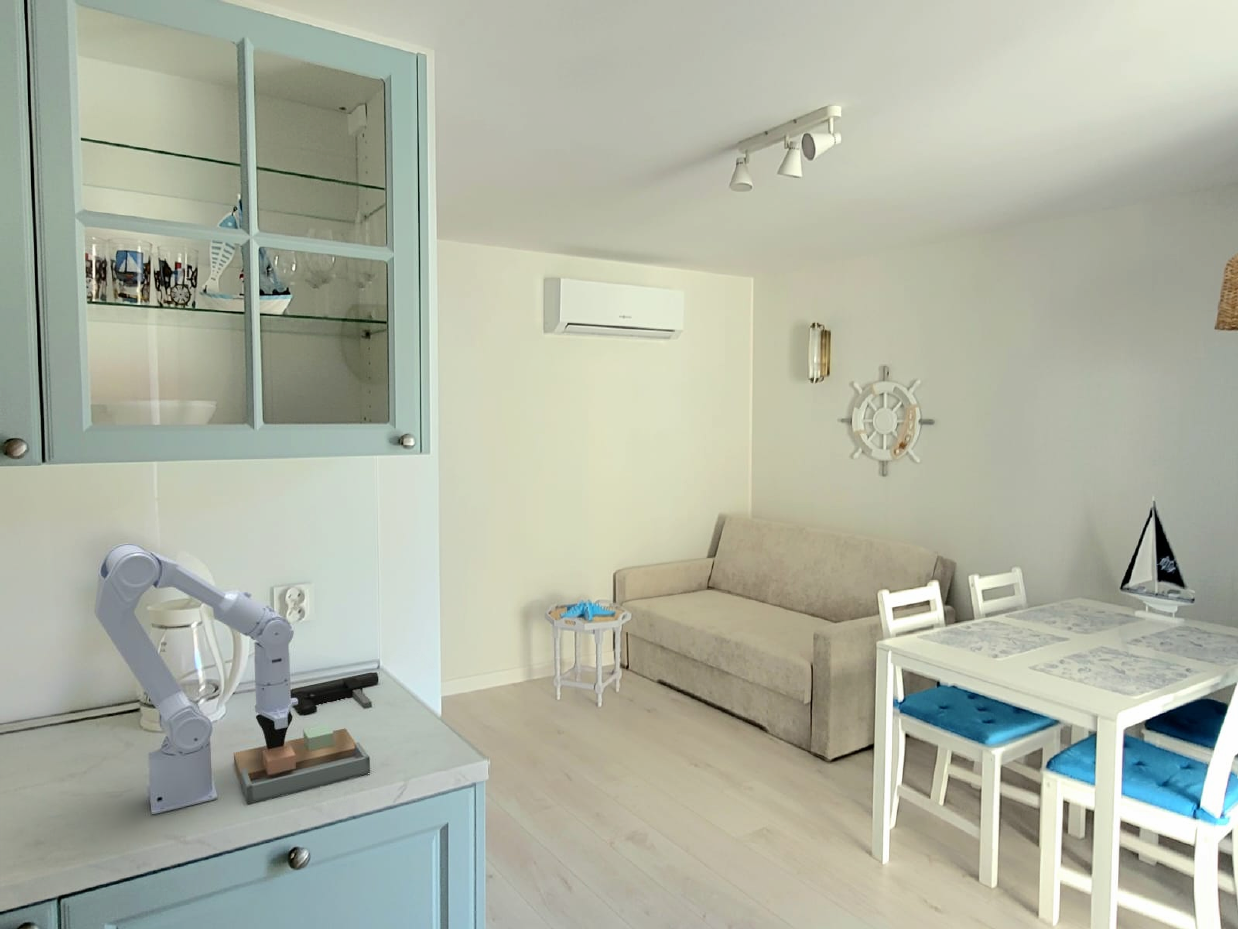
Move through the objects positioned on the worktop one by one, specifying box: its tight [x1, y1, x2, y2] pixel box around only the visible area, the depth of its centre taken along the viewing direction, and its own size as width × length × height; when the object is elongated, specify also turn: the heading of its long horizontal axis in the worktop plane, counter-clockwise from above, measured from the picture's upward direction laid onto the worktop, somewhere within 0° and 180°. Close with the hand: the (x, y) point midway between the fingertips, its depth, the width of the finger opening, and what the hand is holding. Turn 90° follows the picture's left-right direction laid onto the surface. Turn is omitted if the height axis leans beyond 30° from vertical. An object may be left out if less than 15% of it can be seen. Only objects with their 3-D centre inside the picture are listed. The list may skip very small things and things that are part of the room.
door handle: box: [290, 671, 380, 716], centre depth 175 cm, size 3×20×16 cm
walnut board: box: [233, 727, 356, 784], centre depth 145 cm, size 20×10×2 cm, turn 123°
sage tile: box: [302, 724, 334, 751], centre depth 148 cm, size 4×4×2 cm
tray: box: [240, 742, 371, 805], centre depth 138 cm, size 20×7×3 cm, turn 123°
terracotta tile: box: [263, 745, 296, 775], centre depth 139 cm, size 4×4×2 cm
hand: (275, 753), depth 141 cm, fingers closed
